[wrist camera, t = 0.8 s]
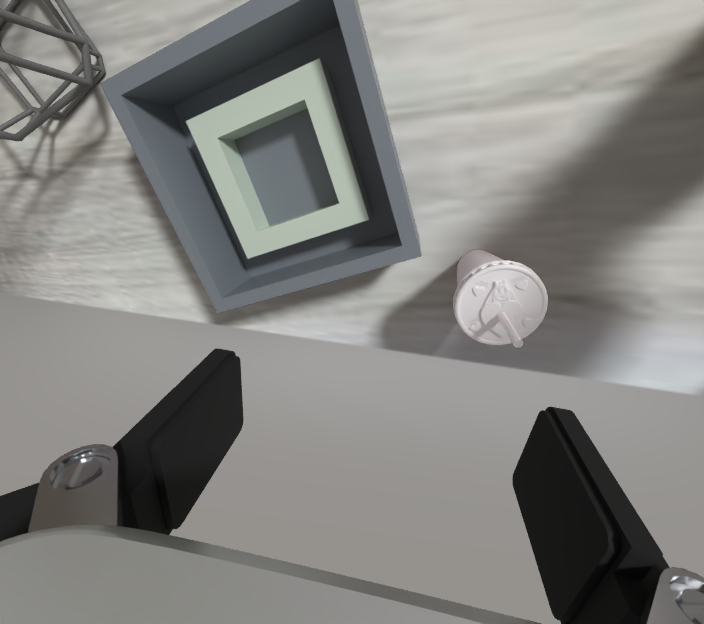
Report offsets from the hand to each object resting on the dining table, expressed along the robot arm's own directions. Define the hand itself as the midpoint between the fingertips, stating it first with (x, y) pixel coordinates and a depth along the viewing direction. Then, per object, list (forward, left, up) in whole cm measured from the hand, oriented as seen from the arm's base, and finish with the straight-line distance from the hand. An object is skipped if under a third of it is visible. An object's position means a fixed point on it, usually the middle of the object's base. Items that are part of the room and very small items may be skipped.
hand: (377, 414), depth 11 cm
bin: (+8, -9, -25) cm, 28 cm away
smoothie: (-6, +5, -25) cm, 26 cm away
